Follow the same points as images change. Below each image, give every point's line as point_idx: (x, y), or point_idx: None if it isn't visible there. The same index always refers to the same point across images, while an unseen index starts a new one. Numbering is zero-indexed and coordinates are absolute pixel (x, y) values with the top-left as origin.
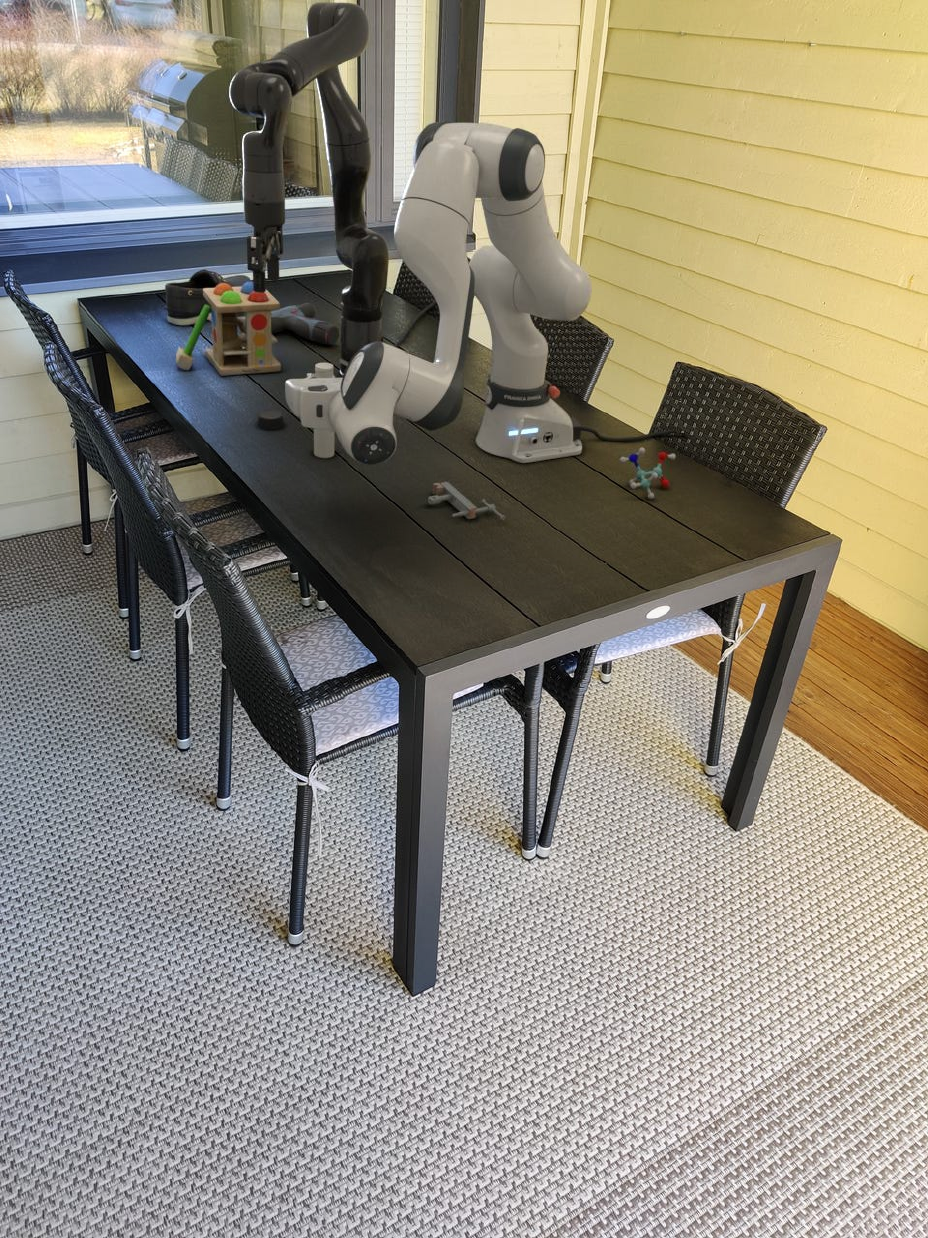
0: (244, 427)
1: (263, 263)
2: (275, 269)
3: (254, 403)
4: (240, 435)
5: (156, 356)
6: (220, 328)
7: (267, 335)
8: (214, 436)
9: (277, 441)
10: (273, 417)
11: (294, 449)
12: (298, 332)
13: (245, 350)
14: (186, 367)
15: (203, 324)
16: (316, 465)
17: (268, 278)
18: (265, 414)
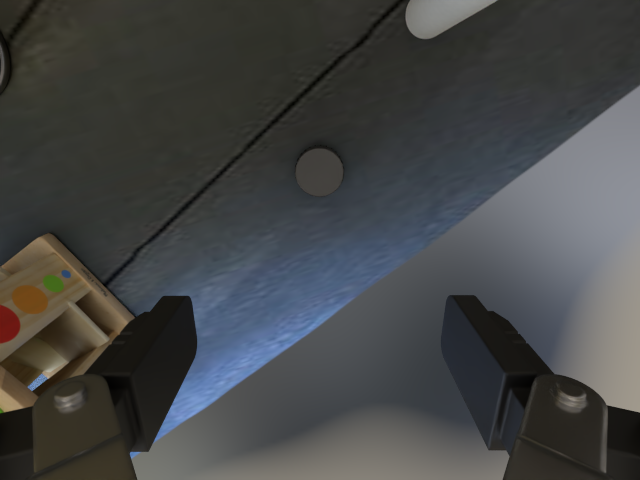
0: (345, 211)
1: (606, 447)
2: (167, 347)
3: (230, 229)
4: (382, 206)
5: None
6: None
7: (8, 288)
8: (398, 246)
9: (390, 132)
10: (332, 161)
11: (419, 86)
12: None
13: (63, 313)
14: None
15: None
16: (487, 15)
17: (196, 348)
18: (323, 182)
